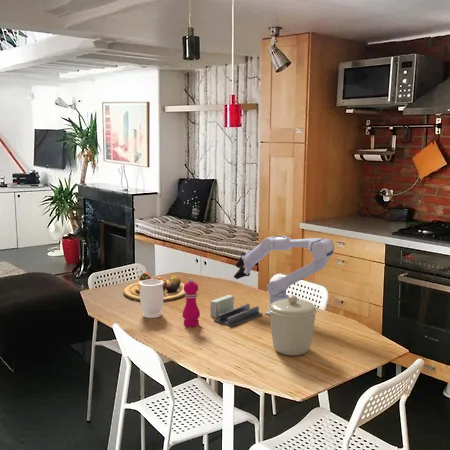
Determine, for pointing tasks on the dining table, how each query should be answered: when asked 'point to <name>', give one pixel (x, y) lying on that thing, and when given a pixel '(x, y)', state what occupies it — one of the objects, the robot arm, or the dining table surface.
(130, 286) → the wooden plate with food
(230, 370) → the dining table surface
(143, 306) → the jar
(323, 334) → the dining table surface
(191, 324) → the pepper mill
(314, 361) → the dining table surface
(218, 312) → the sage green block
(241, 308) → the rail
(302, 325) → the canister
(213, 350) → the dining table surface
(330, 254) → the robot arm
